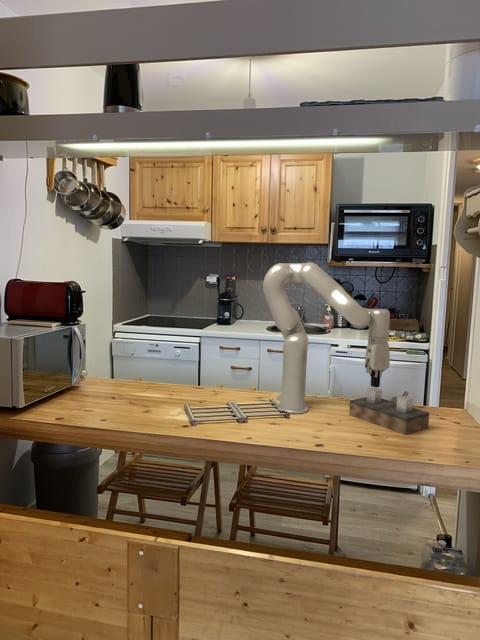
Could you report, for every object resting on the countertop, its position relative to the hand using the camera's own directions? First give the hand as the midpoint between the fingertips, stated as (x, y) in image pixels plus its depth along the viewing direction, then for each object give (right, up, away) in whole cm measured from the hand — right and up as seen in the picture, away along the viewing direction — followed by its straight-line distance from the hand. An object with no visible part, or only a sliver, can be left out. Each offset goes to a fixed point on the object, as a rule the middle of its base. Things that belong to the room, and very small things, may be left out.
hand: (375, 386), depth 191 cm
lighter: (+13, -12, +13) cm, 22 cm away
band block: (+4, -13, -4) cm, 14 cm away
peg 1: (0, -7, +1) cm, 7 cm away
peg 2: (+8, -9, -10) cm, 16 cm away
